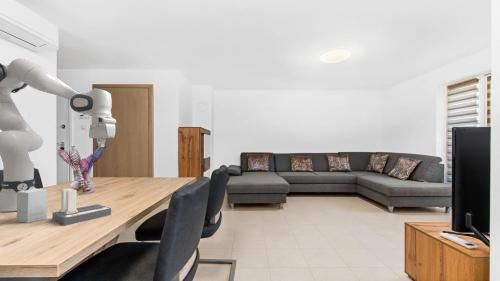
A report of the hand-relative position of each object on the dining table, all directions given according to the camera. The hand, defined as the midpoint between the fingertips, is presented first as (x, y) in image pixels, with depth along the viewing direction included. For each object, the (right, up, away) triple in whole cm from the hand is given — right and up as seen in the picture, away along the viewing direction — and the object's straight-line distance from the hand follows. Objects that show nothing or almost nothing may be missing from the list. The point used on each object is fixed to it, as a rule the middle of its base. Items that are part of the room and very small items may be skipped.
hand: (101, 147), depth 123 cm
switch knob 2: (0, -28, -21) cm, 35 cm away
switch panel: (+2, -31, -16) cm, 35 cm away
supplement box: (-17, -31, -20) cm, 41 cm away
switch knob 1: (-4, -28, -18) cm, 33 cm away
